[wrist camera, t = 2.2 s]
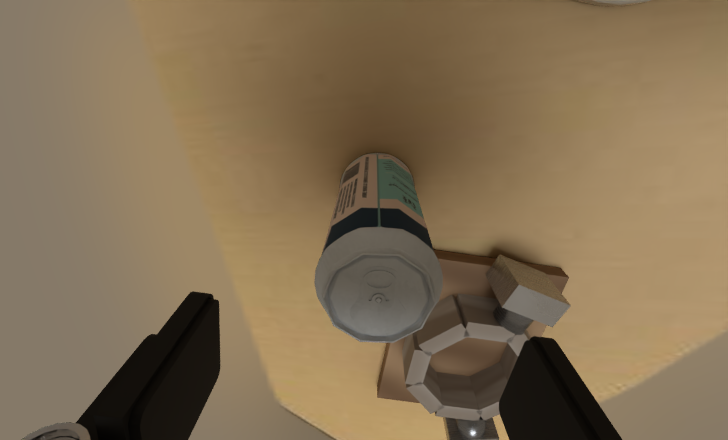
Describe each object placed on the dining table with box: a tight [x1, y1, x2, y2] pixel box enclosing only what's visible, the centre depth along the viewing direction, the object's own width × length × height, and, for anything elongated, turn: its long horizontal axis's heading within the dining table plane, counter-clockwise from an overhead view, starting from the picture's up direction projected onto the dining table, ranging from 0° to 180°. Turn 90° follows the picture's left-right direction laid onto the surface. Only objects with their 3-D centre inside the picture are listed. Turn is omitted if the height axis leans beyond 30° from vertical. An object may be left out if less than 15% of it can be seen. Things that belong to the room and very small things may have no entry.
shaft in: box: [486, 254, 571, 335], centre depth 23 cm, size 3×4×4 cm
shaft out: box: [443, 416, 499, 440], centre depth 28 cm, size 3×4×4 cm
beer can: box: [315, 153, 443, 343], centre depth 18 cm, size 5×5×12 cm
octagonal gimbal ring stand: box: [377, 250, 569, 421], centre depth 26 cm, size 14×11×4 cm
